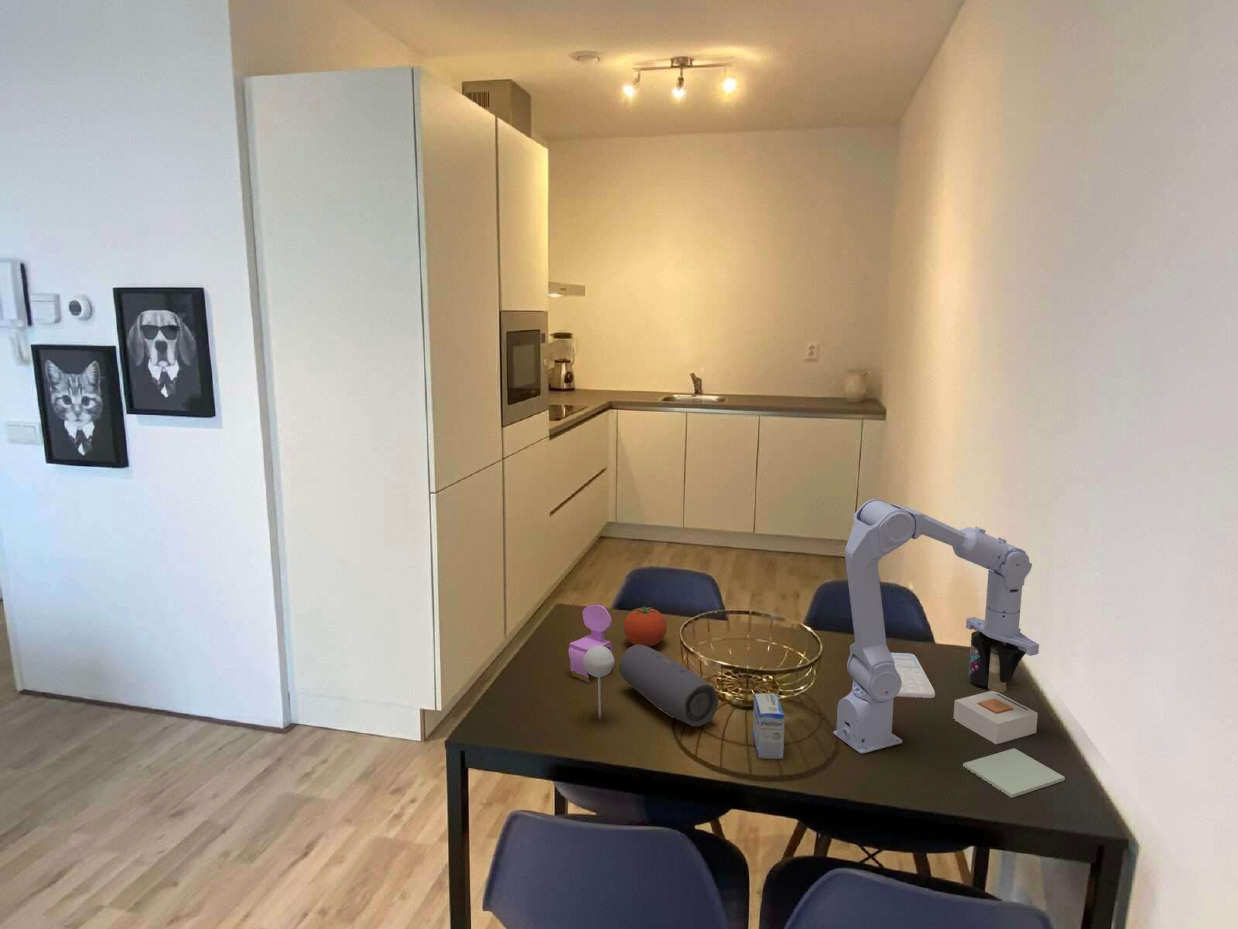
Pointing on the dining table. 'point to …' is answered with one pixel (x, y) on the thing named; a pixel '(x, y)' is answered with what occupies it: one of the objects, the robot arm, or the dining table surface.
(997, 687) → the tan lidded jar
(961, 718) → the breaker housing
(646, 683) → the bluetooth speaker
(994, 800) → the dining table surface
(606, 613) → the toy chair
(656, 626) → the tomato
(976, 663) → the supplement container
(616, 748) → the dining table surface
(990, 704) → the button
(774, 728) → the medicine box
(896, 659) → the calculator
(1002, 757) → the sage board
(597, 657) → the lollipop
